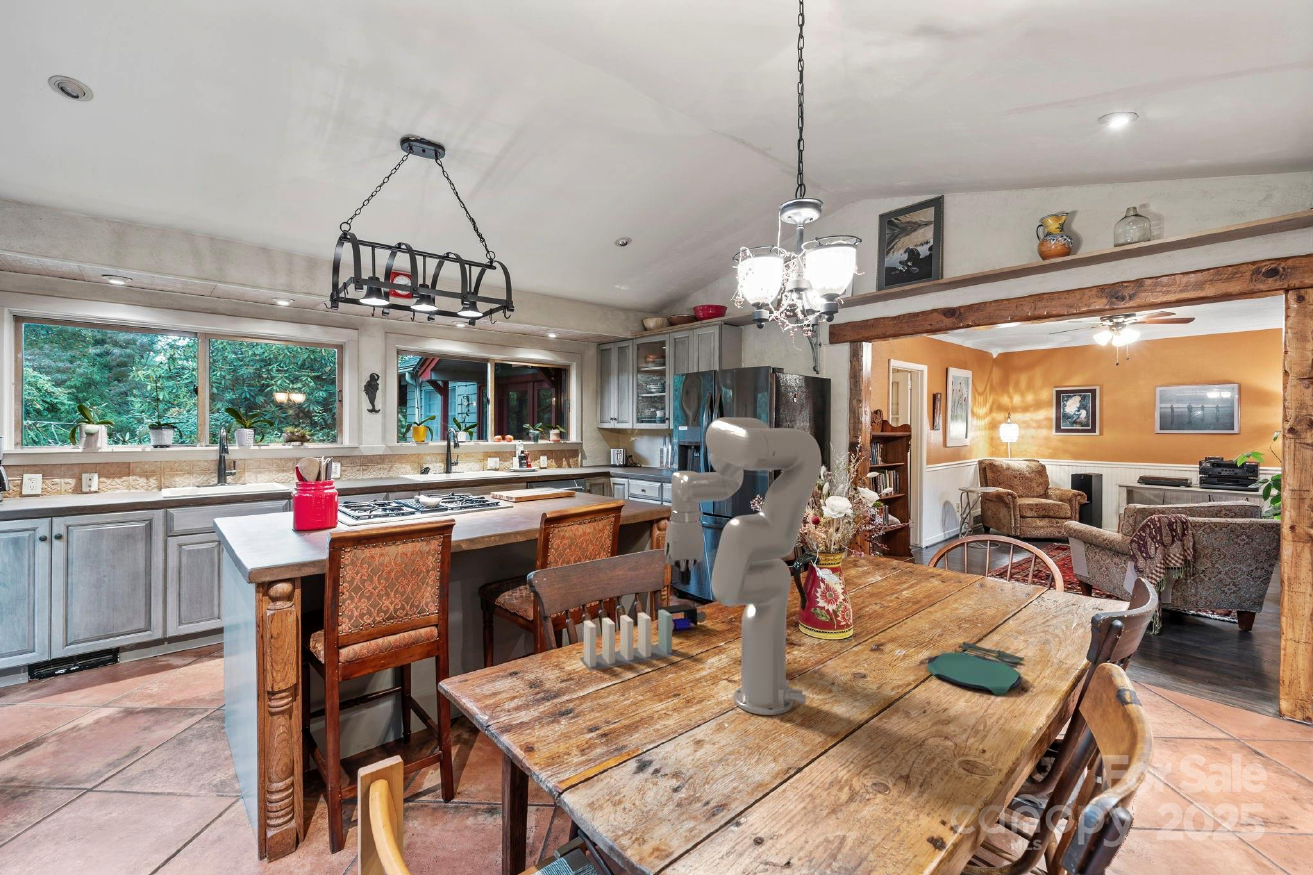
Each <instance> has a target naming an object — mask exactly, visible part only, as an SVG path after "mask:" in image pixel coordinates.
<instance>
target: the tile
mask: <svg viewBox="0 0 1313 875" xmlns="http://www.w3.org/2000/svg"><path fill="white" fill-rule="evenodd" d="M657 615H658V617H657V619H658V620H657V622H658V629H657V634H658V635H657V636H658V638H657V640H658V642H657V644H658V647H659V648H660V649H661V650H662V651H664V652H665V653H666V654H668V653H672V651H673V631H672V619H673V614H670V613H668V612H667V611H665V610H658V612H657Z"/></svg>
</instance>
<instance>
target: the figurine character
mask: <svg viewBox="0 0 1313 875" xmlns="http://www.w3.org/2000/svg"><path fill="white" fill-rule="evenodd" d="M658 610H665V611H667V612H668V613H670V614H671V615H673V614H674V615H675V614H681V613H682V614H683V617H679V618H672V632H673V631H675V630H686V629H691V630H692V629H693V630H694V629H698V628H699V626H698V624H699V623H700V624H702V623H704V622H705V621H706V620H707V613H706V612H705V611H704V610H698V608H697V607H694V606H692V605H690V604H687V603H681V604H674V605H667V606H660V607H654V608H653V611H655V612H657V613H658ZM693 625H695V626H693ZM656 628H657V630H658V621H657V623H656Z"/></svg>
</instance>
